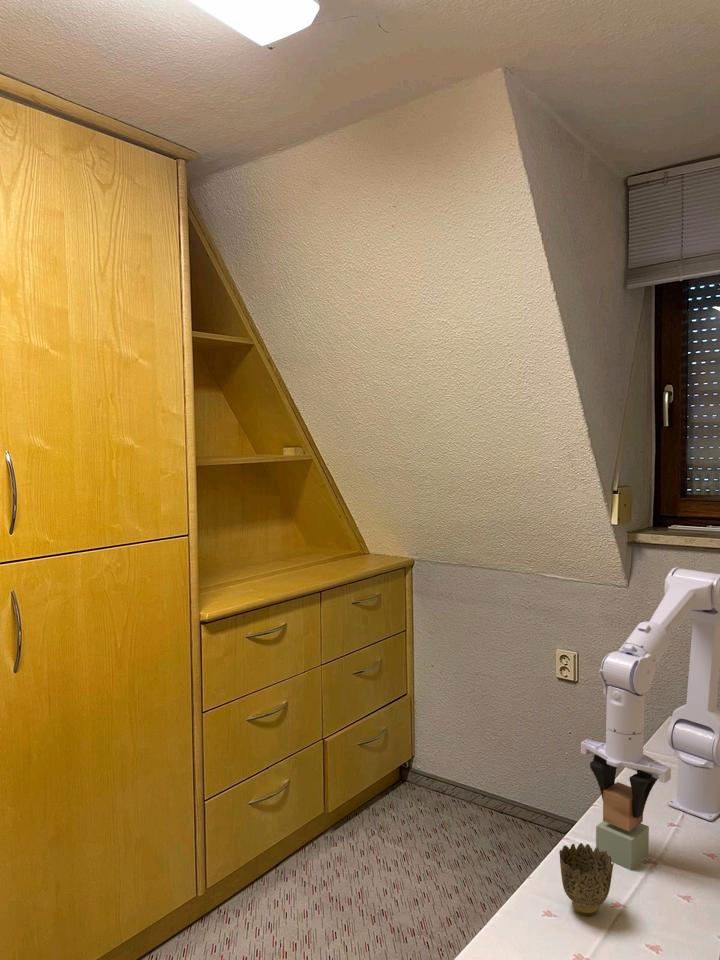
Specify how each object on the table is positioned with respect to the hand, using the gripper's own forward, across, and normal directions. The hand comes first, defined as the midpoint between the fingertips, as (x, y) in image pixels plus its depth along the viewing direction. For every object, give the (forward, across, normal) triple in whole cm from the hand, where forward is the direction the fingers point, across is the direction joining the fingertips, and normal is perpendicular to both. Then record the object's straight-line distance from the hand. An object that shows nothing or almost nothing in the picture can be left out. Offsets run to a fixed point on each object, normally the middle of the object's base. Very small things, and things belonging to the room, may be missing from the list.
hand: (623, 809), depth 120 cm
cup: (+8, +4, -17) cm, 19 cm away
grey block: (+8, 0, 0) cm, 8 cm away
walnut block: (+2, 0, 0) cm, 2 cm away
